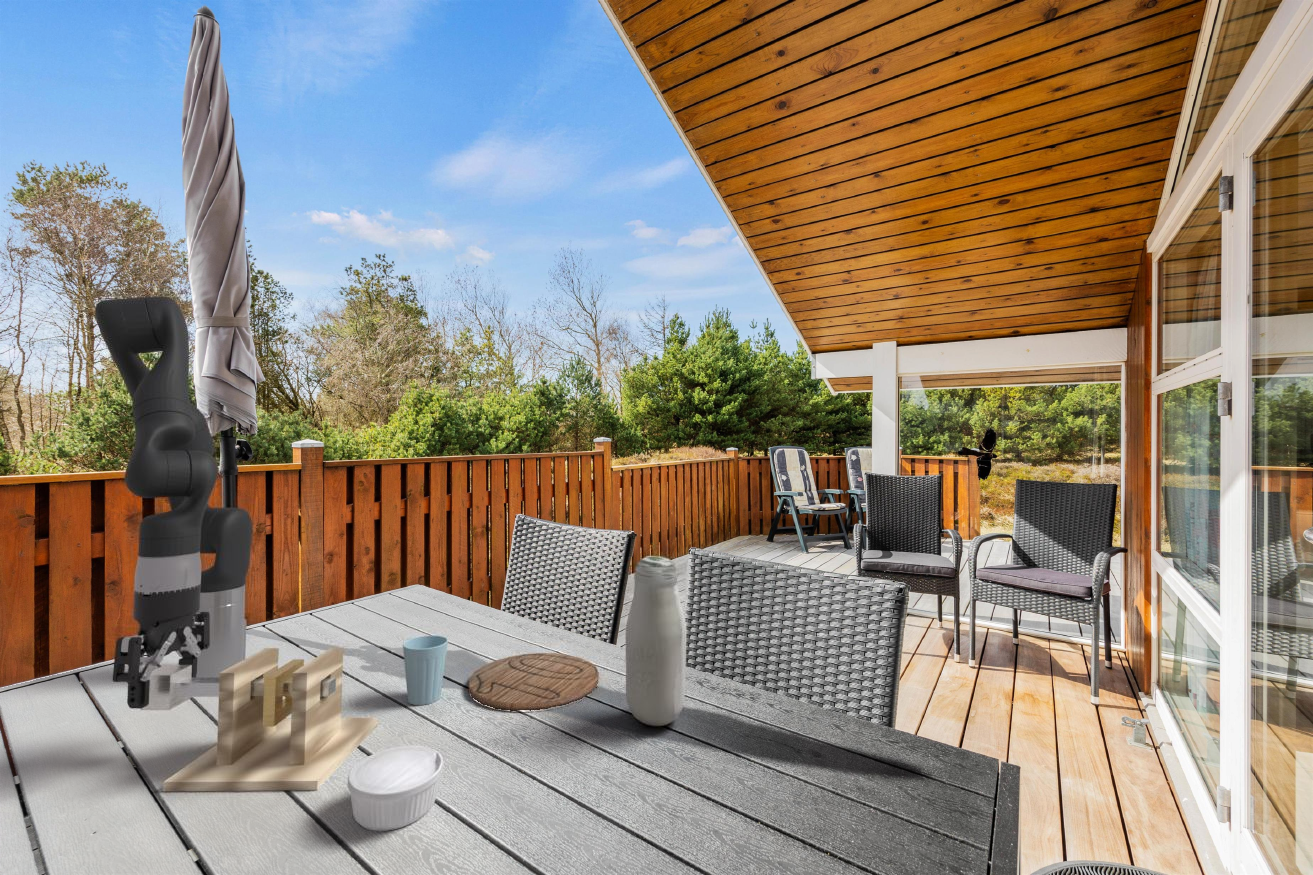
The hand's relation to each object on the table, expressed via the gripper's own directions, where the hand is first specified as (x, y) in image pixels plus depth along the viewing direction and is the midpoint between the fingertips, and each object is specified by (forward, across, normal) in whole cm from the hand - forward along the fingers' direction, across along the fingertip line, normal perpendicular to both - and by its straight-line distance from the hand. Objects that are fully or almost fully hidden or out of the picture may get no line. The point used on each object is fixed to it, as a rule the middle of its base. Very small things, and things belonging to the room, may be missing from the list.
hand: (163, 694), depth 84 cm
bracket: (+9, 0, +17) cm, 19 cm away
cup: (+9, -20, +31) cm, 38 cm away
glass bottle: (+9, -11, +73) cm, 74 cm away
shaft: (+2, 0, +11) cm, 11 cm away
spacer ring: (0, 0, +17) cm, 17 cm away
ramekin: (+9, +12, +39) cm, 42 cm away
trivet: (+9, -27, +50) cm, 57 cm away
